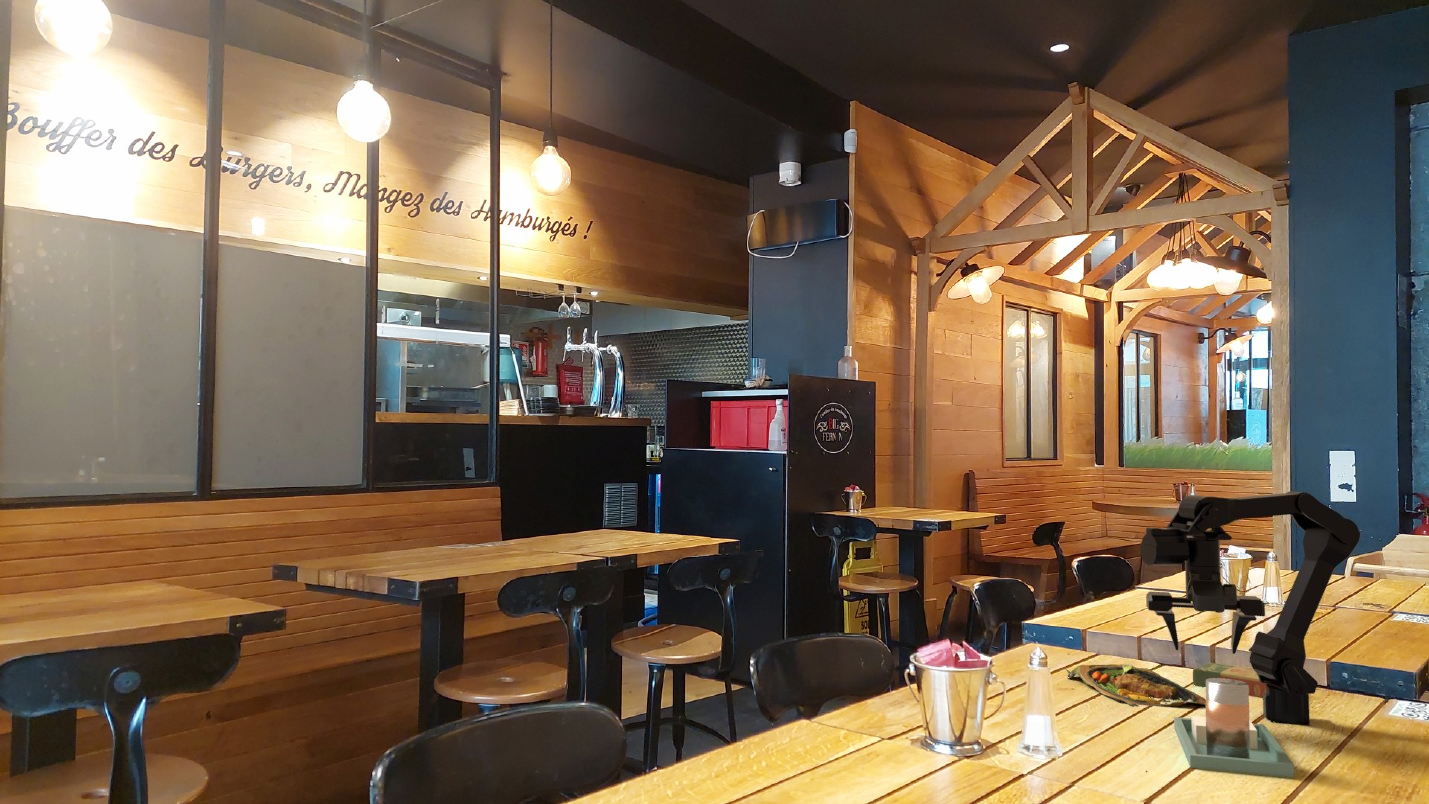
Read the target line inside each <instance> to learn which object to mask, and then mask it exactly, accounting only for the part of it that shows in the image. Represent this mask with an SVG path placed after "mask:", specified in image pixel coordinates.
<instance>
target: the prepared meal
mask: <svg viewBox="0 0 1429 804" xmlns="http://www.w3.org/2000/svg"><path fill="white" fill-rule="evenodd" d="M1065 670H1066V671H1067V673H1068V674H1067V678H1068V677H1069V678H1071V679H1073V678H1074V677H1075V676H1076V675H1077V676H1078V677H1079V678H1080V679H1082V681H1083V683H1085V684H1086V685H1088V686H1091V687H1093V688H1094V689H1095V690H1096V691H1097V692H1099V693H1100V694H1102V695H1105V696H1108V697H1110V698H1112V699H1114V700H1116V701H1117V702H1119V703H1122V704H1125V705H1129V706H1130V707H1139V706H1148V707H1149V706H1151V707H1161V708H1178V707H1179V706H1183V705H1184V704H1185V705H1188V704H1191V703H1193V704H1196V705H1204V706H1206V698H1205V697H1203V696H1200V695H1199V694H1197V693H1196V692H1194V691H1192V690H1190V689H1188V688H1186V687H1183V686H1181V685H1180V684H1178V683H1177V682H1174V681H1172V680H1171V679H1168V678H1166V677H1164V676H1161V674H1159V673H1156V672H1155V671H1153V670H1151V669H1149V668H1147V667H1146V668H1144V667H1136V666H1134V665H1132V664H1130V663H1128V664H1126V663H1125V664H1124V663H1123V664H1118V663H1117V664H1114V663H1113V664H1080V665H1077V666H1075V668H1074V669H1072V670H1071V671H1070V670H1069V669H1067V668H1065ZM1072 677H1073V678H1072ZM1149 697H1153V698H1149ZM1157 699H1161V701H1162V703H1161V701H1160V700H1157ZM1171 700H1172V701H1173V702H1171ZM1120 701H1121V702H1120ZM1123 702H1124V703H1123ZM1170 702H1171V703H1170ZM1127 703H1128V704H1127ZM1168 703H1169V704H1168Z"/></svg>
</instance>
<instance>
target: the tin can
mask: <svg viewBox="0 0 1429 804" xmlns="http://www.w3.org/2000/svg"><path fill="white" fill-rule="evenodd" d="M1249 698H1250V696H1249V685H1248V684H1247V683H1245V682H1242V681H1238V680H1233V679H1225V678H1209V679H1206V688H1205V700H1206V705H1205V717H1206V747H1207V755H1213V756H1223V757H1234V758H1245V759H1250V756H1249V745H1250V729H1249V721H1250V702H1249V701H1250V699H1249Z"/></svg>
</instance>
